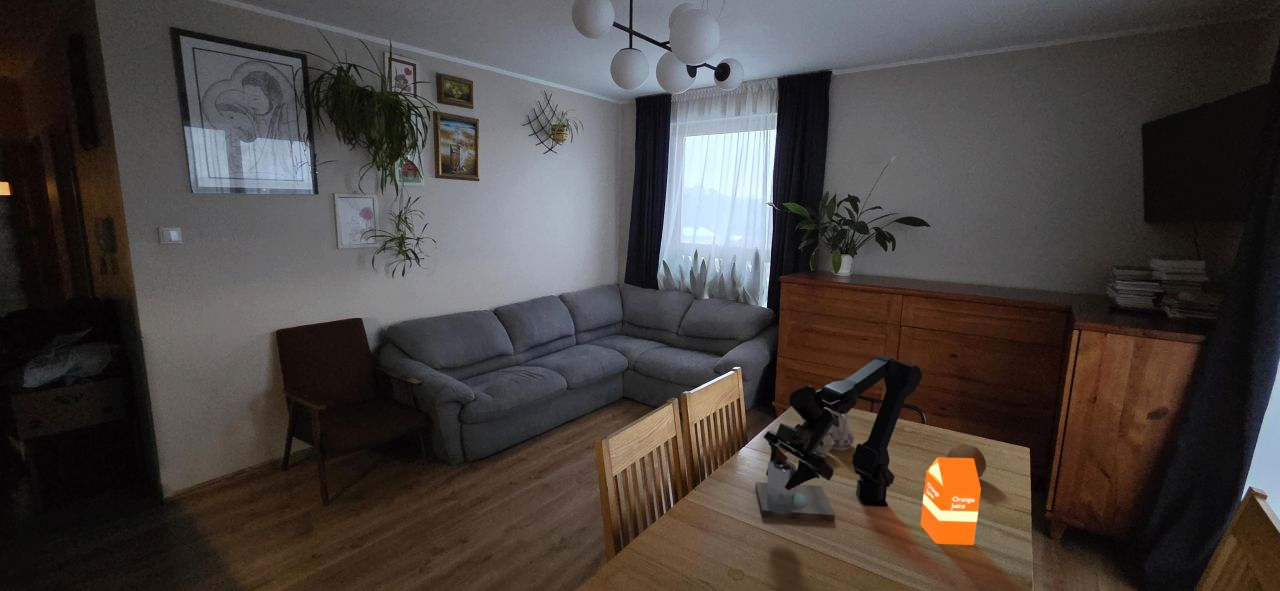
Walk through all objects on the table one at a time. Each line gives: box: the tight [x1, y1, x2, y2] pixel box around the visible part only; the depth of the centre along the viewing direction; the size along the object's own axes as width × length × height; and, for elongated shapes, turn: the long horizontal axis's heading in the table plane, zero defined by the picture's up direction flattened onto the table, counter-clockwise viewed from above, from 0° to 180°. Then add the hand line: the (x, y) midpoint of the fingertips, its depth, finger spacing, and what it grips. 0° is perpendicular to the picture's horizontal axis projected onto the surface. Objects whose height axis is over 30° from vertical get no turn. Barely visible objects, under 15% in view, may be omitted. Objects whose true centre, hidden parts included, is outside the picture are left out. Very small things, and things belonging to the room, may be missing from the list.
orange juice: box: [920, 456, 982, 546], centre depth 124 cm, size 8×9×20 cm
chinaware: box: [800, 409, 855, 458], centre depth 173 cm, size 28×17×17 cm, turn 174°
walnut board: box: [754, 481, 836, 523], centre depth 138 cm, size 18×14×2 cm
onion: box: [946, 443, 987, 479], centre depth 152 cm, size 10×10×10 cm
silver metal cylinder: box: [766, 460, 797, 514], centre depth 124 cm, size 6×6×11 cm
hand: (776, 482), depth 123 cm, fingers closed on silver metal cylinder, 6 cm apart
